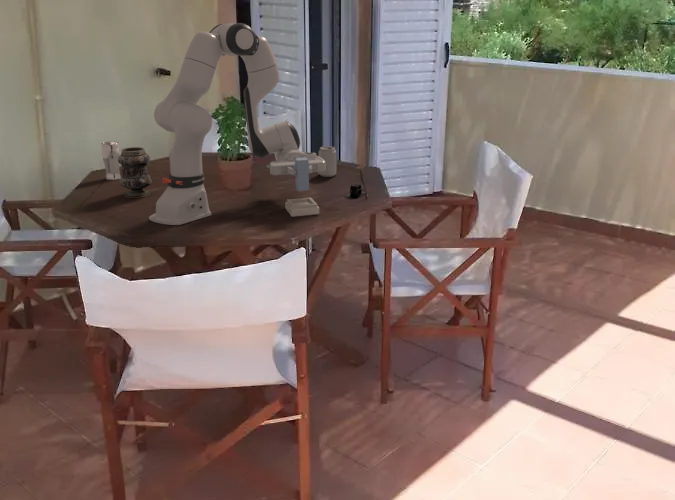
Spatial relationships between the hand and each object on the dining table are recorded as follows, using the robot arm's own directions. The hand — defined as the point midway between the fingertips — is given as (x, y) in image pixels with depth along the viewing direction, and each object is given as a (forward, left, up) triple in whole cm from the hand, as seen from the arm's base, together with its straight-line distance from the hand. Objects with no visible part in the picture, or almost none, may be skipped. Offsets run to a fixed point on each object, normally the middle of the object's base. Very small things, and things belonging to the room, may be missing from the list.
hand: (302, 171), depth 260 cm
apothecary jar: (-12, +68, -15) cm, 70 cm away
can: (+49, +18, -15) cm, 55 cm away
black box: (+28, -7, -15) cm, 33 cm away
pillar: (+1, +1, -6) cm, 7 cm away
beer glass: (+2, +94, -15) cm, 95 cm away
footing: (0, +1, -15) cm, 15 cm away
